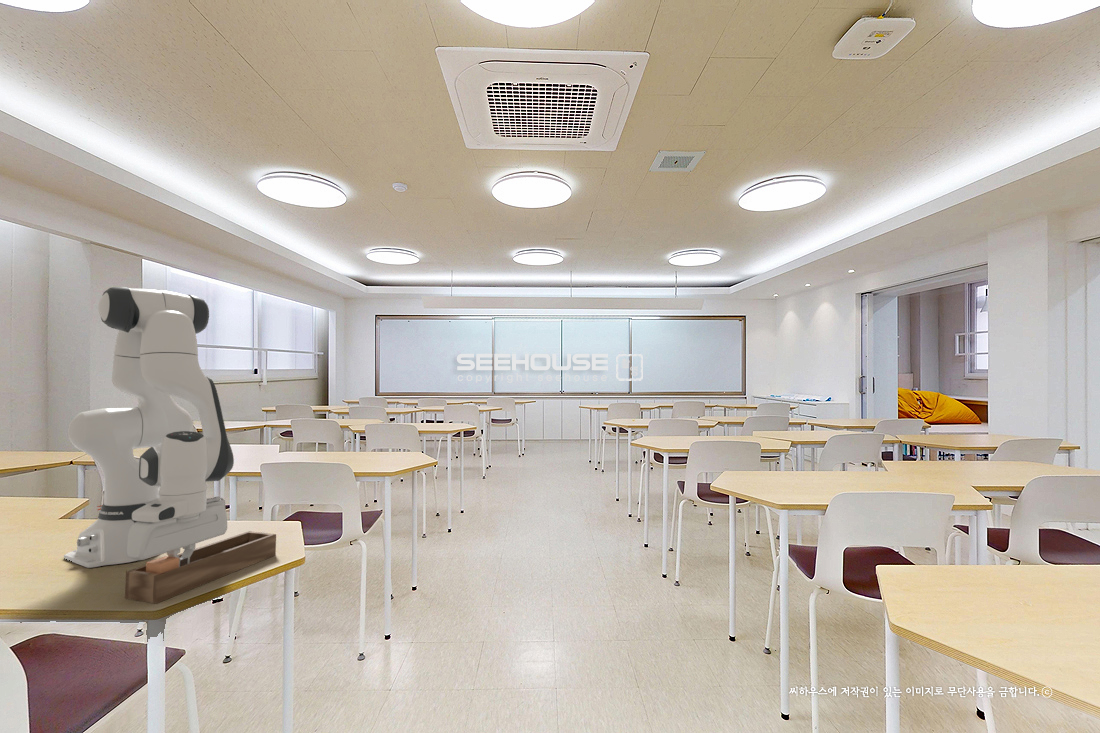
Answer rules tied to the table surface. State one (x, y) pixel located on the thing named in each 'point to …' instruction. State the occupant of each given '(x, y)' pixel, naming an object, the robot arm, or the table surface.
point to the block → (162, 564)
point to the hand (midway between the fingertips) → (180, 566)
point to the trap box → (201, 567)
